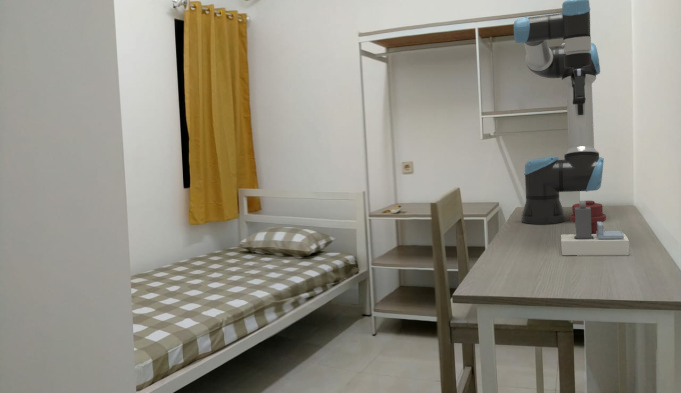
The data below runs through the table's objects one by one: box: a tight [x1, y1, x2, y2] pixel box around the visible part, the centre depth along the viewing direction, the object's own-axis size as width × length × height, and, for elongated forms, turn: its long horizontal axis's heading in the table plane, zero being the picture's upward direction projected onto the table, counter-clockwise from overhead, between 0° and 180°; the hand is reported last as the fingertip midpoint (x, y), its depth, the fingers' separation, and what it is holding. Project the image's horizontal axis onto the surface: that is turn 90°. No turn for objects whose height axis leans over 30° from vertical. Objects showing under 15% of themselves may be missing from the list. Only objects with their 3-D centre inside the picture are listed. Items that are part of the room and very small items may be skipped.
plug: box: [574, 200, 592, 239], centre depth 173 cm, size 4×4×14 cm
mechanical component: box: [569, 200, 607, 234], centre depth 185 cm, size 12×10×10 cm
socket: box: [560, 233, 630, 256], centre depth 173 cm, size 10×17×4 cm, turn 71°
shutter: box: [596, 222, 624, 239], centre depth 171 cm, size 7×6×4 cm
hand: (579, 126), depth 183 cm, fingers open, 13 cm apart
